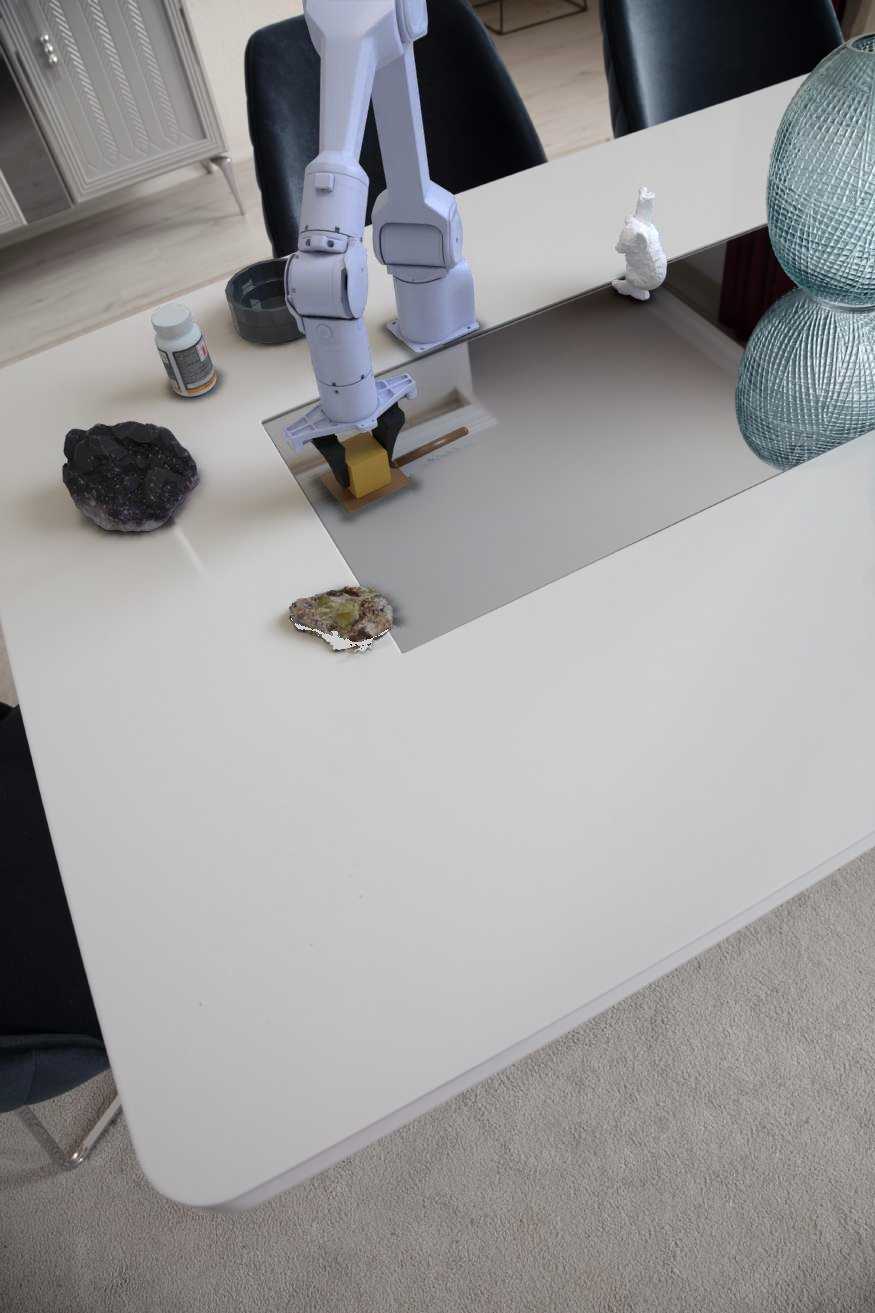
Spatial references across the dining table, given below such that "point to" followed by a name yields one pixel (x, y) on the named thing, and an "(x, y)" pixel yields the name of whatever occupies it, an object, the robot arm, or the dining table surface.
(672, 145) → the dining table surface
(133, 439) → the crystal cluster
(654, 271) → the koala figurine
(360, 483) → the yellow cube block
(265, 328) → the grey round bowl
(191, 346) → the pill bottle
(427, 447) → the wooden spatula
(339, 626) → the mineral rock
